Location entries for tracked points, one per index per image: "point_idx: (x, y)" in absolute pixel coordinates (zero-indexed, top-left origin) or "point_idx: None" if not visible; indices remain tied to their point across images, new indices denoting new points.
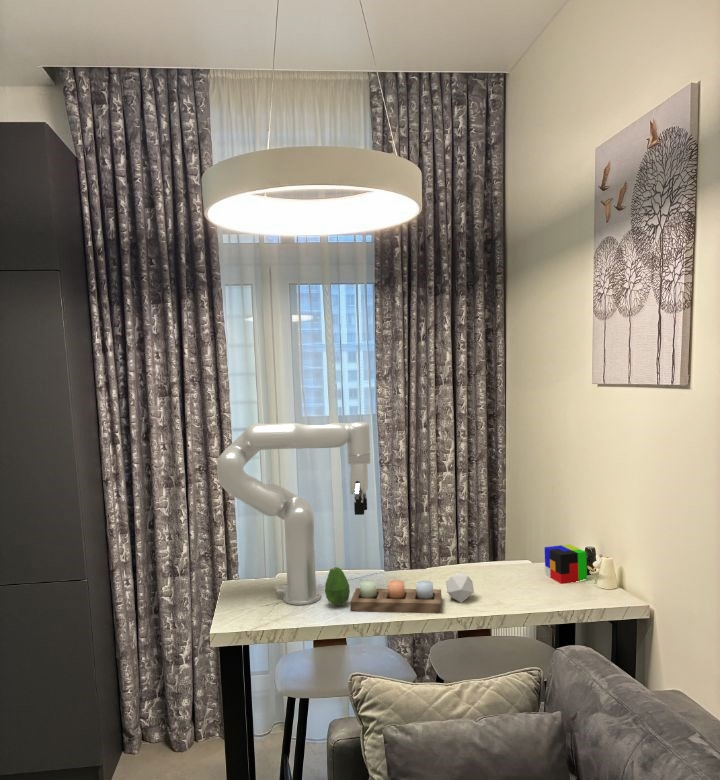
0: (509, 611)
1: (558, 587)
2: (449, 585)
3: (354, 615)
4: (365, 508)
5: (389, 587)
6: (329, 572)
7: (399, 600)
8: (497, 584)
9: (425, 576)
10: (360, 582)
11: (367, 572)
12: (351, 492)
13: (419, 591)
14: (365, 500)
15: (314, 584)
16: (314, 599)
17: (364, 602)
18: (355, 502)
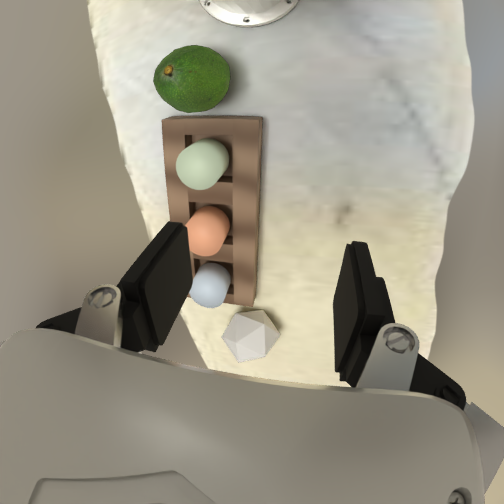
0: (210, 358)
1: None
2: (235, 326)
3: (152, 129)
4: (335, 302)
5: (190, 219)
6: (170, 57)
7: None
8: (320, 369)
9: (392, 279)
10: (197, 146)
11: (451, 149)
12: (10, 344)
13: (195, 275)
14: (336, 358)
15: (231, 6)
16: (216, 18)
17: (164, 153)
18: (97, 295)
